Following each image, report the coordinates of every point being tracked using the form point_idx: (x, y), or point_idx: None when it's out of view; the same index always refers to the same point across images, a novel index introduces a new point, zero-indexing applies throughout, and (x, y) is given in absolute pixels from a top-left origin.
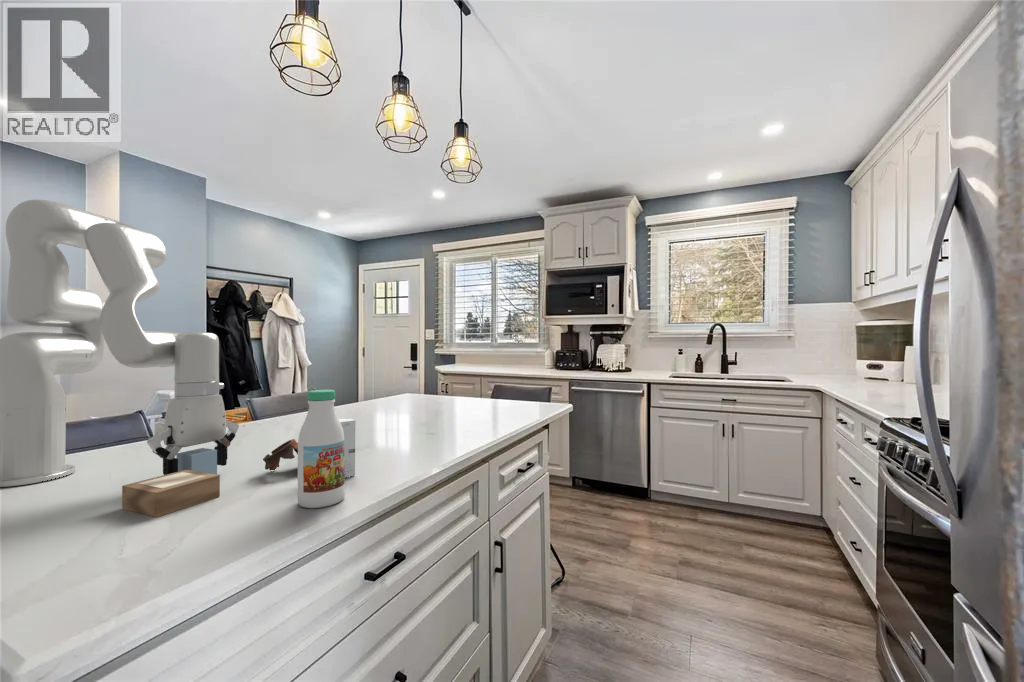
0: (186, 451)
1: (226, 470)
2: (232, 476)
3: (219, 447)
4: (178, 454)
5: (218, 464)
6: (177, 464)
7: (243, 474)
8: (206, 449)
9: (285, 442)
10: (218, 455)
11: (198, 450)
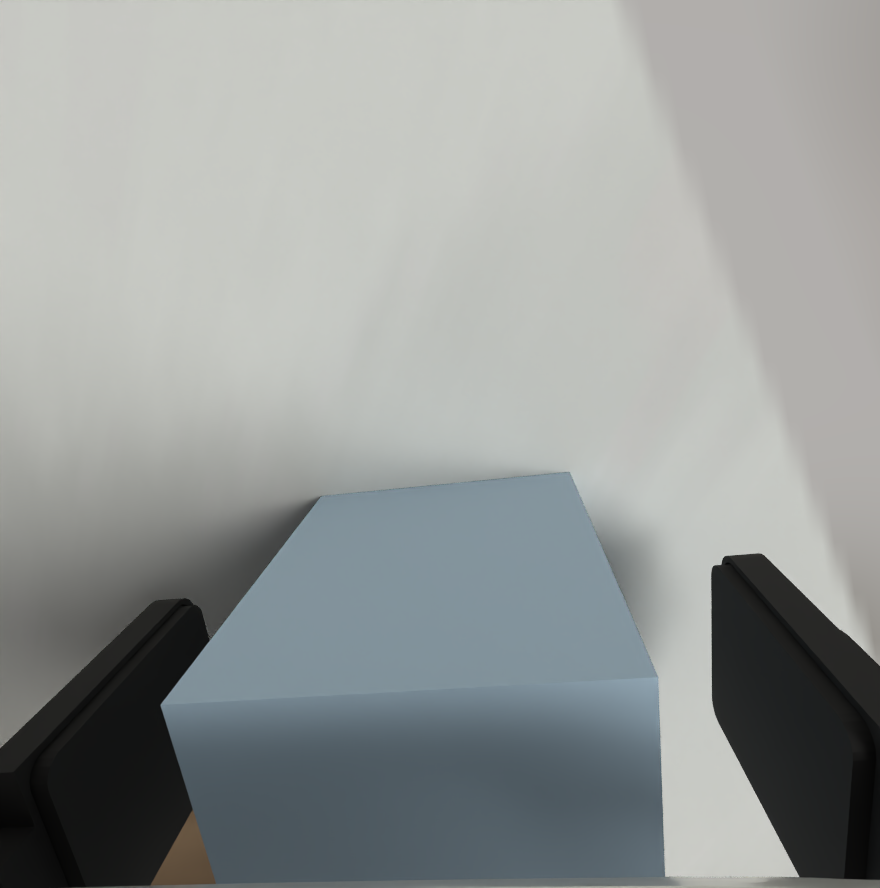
0: (330, 712)
1: (793, 535)
2: (667, 777)
3: (868, 856)
4: (186, 742)
5: (714, 637)
6: (155, 865)
7: (751, 806)
8: (607, 876)
9: None
10: (769, 729)
11: (490, 824)
